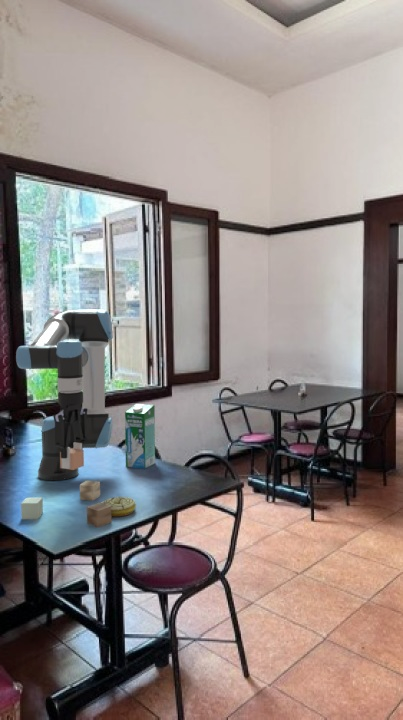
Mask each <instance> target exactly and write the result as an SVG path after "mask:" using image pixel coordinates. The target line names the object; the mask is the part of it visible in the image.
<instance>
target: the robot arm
mask: <svg viewBox="0 0 403 720" xmlns="http://www.w3.org/2000/svg"><path fill="white" fill-rule="evenodd" d="M113 334H114V333H113V324H112V318H111V314H110V313H109V312H108V310H105V309H68V310H63V311H60V312H58V313H56V314H54V315H52V316H51V317H50V318H49V319H47V320H46V321H45V323H44V324H43V329H42V331H41V332H40V333H39V334H38V336H37V337H36V338H35V339H34V341H33V342H31V344H30V345H28V344H26V345H20V346H18V347H17V349H16V352H15V354H16V355H15V361H16V365H17V368H19V369H21V370H24V369H25V370H52V369H53V370H54V369H56V370H57V377H56V378H57V391H59V392H57V403H58V405H60V410H59V412H58V413H57V414H53V415H52V416H48V417H45V418H44V419H43V420H42V421H41V430H40V431H41V447H42V448H41V449H42V450H41V452H42V456H41V460H40V463H39V468H38V469H37V477H38V478H39V479H41V480H44V481H63V480H68V479H72V478H74V477H75V478H76V477H77V476H78V475H79V468H77V469H75V470H70V468H71V465H70V448H72V449H79V450H84V449H100V448H101V449H103V448H107V447H108V446H109V445H110V441H111V438H112V432H113V423H114V422H113V419H114V418H113V417H111V416H109V414H110V413H109V411H107V410H106V407H105V405H106V402H105V401H106V393H105V392H106V391H105V389H106V385H105V384H106V347H107V346H109V344H110V340H113V337H114V335H113ZM60 452H61V458H62V468H60ZM64 468H66V469H64Z"/></svg>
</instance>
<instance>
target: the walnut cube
mask: <svg viewBox="0 0 403 720" xmlns="http://www.w3.org/2000/svg"><path fill="white" fill-rule="evenodd" d="M86 519H87V520H86V523H87V524H89V525H90V526H93V527H95V528H101V527H103V526H106V525H108V524H110V523H112V516H111V506H109V505H106V504H103V503H102V502H97V503H95V504H91V505H89V506H87V507H86Z"/></svg>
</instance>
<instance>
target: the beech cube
mask: <svg viewBox="0 0 403 720" xmlns="http://www.w3.org/2000/svg"><path fill="white" fill-rule="evenodd" d="M99 497H101V481H98V480H97V481H95V480H85V481H83V482H82V483H80V484H79V500H83V501H95V500H96V499H98V498H99Z"/></svg>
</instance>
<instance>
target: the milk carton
mask: <svg viewBox="0 0 403 720" xmlns="http://www.w3.org/2000/svg"><path fill="white" fill-rule="evenodd" d="M155 408H156V406H155V404H148V403H147V404H145V403H135V404H134V405H132V406H131V407H130V408H128V409H127V410H126V411H125V412H124V425H125V426H124V427H125V429H124V430H125V432H124V436H125V441H124V443H125V446H124V447H125V467H127V468H133V469H134V468H135V469H143V470H145V469H147V468H149V467H151V466H153V465H154V464H156V434H155V433H156V432H155V431H156V430H155V429H156V426H155V421H156V419H155V414H156V413H155V411H156V410H155Z"/></svg>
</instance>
